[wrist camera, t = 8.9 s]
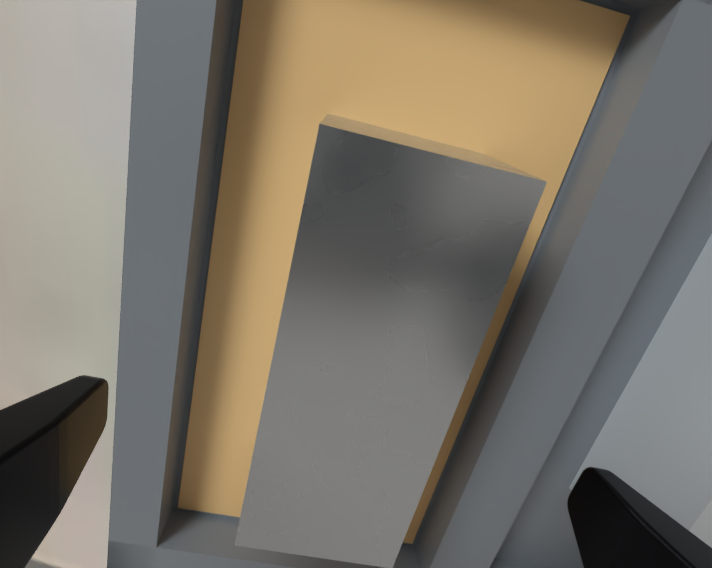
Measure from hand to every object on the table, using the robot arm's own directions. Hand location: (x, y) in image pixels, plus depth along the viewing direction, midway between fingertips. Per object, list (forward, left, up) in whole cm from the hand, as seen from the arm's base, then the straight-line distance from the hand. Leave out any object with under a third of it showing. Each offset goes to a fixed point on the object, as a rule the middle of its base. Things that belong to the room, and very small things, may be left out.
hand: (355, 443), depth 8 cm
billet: (0, 0, -5) cm, 5 cm away
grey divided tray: (-6, 0, -6) cm, 8 cm away
